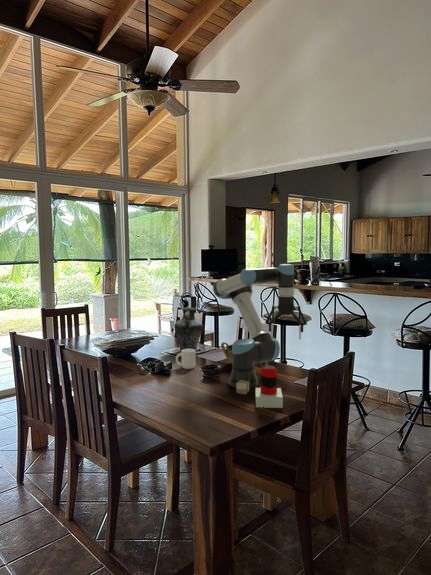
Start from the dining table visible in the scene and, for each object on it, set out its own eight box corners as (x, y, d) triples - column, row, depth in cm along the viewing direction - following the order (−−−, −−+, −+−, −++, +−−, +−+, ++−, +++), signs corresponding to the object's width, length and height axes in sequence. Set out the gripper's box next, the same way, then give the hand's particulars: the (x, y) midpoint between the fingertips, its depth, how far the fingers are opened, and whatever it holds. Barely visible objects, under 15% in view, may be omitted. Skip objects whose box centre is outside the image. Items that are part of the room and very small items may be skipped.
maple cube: (245, 394, 210) (245, 384, 210) (236, 393, 212) (236, 383, 212) (249, 391, 215) (249, 381, 214) (240, 389, 217) (239, 380, 216)
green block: (255, 407, 193) (255, 396, 193) (255, 397, 205) (255, 387, 205) (282, 407, 192) (282, 397, 192) (280, 398, 204) (280, 388, 204)
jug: (174, 348, 302) (173, 306, 299) (202, 347, 304) (201, 305, 301) (175, 355, 282) (174, 311, 278) (204, 354, 284) (203, 310, 280)
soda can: (263, 388, 203) (263, 364, 202) (278, 390, 200) (278, 365, 199) (258, 394, 196) (258, 368, 195) (274, 396, 193) (274, 370, 192)
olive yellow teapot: (249, 359, 272) (249, 335, 271) (261, 366, 257) (261, 341, 255) (217, 363, 264) (216, 339, 263) (227, 370, 249) (227, 345, 247)
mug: (177, 370, 250) (176, 353, 249) (174, 366, 258) (174, 349, 257) (196, 368, 254) (196, 351, 253) (193, 364, 262) (193, 348, 260)
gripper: (260, 296, 207) (260, 339, 210) (312, 297, 203) (312, 340, 205) (261, 294, 215) (261, 336, 217) (311, 295, 211) (311, 337, 213)
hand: (285, 338), depth 211 cm, fingers open, 13 cm apart
